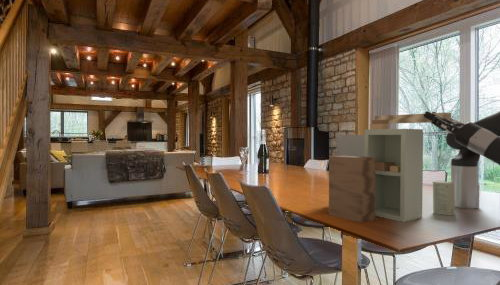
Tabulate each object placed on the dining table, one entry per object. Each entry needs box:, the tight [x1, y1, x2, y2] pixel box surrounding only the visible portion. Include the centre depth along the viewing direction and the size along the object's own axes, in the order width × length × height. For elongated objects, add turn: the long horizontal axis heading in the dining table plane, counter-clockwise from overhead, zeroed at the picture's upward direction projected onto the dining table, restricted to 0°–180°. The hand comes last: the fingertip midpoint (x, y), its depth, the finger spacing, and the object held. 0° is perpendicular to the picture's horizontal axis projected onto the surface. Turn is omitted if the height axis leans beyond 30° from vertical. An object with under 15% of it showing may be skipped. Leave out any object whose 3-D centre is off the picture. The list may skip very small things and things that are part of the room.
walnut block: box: [328, 155, 376, 224], centre depth 118 cm, size 8×14×22 cm, turn 35°
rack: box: [364, 119, 424, 223], centre depth 121 cm, size 12×16×36 cm
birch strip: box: [374, 112, 452, 125], centre depth 118 cm, size 26×4×3 cm, turn 35°
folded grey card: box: [336, 134, 365, 157], centre depth 139 cm, size 14×6×30 cm, turn 84°
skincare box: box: [432, 180, 456, 216], centre depth 124 cm, size 6×4×12 cm
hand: (428, 113), depth 113 cm, fingers closed on birch strip, 4 cm apart
